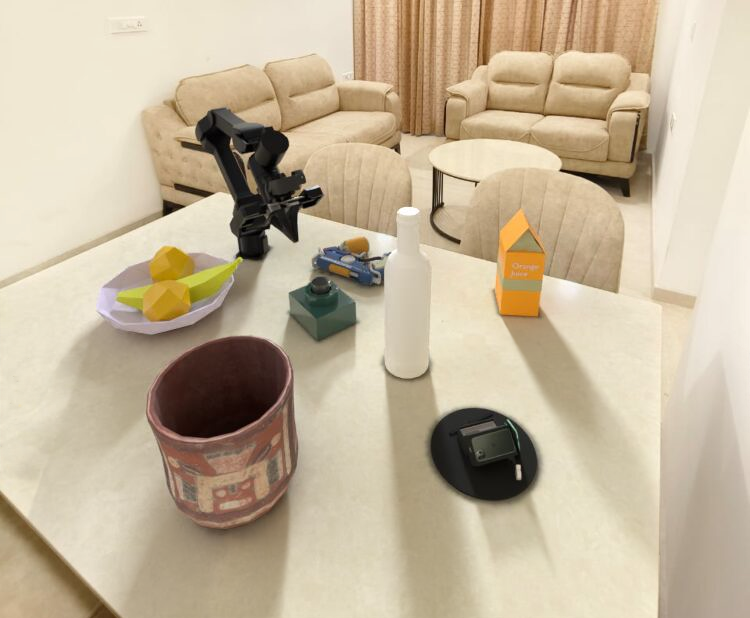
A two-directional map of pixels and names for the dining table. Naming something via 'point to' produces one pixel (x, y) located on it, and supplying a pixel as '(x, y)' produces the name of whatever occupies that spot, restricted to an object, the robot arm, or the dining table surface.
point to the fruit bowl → (166, 291)
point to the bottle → (407, 300)
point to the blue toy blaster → (352, 261)
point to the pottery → (226, 429)
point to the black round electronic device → (483, 454)
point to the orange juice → (519, 268)
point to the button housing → (322, 310)
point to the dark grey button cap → (320, 285)
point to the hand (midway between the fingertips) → (296, 242)
